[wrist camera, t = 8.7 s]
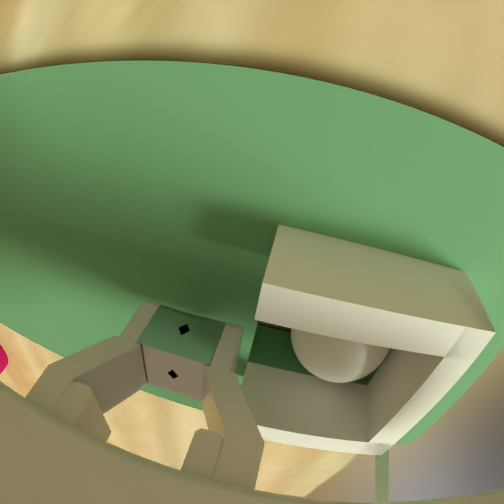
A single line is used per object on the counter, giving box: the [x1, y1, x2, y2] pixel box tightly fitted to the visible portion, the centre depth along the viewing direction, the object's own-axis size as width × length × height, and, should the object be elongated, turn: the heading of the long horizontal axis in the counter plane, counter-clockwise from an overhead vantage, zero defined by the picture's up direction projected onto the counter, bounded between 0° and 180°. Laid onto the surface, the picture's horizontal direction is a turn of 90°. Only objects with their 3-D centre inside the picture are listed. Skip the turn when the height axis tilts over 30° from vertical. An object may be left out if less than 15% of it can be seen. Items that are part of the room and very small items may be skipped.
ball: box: [291, 328, 390, 383], centre depth 10 cm, size 3×3×3 cm
